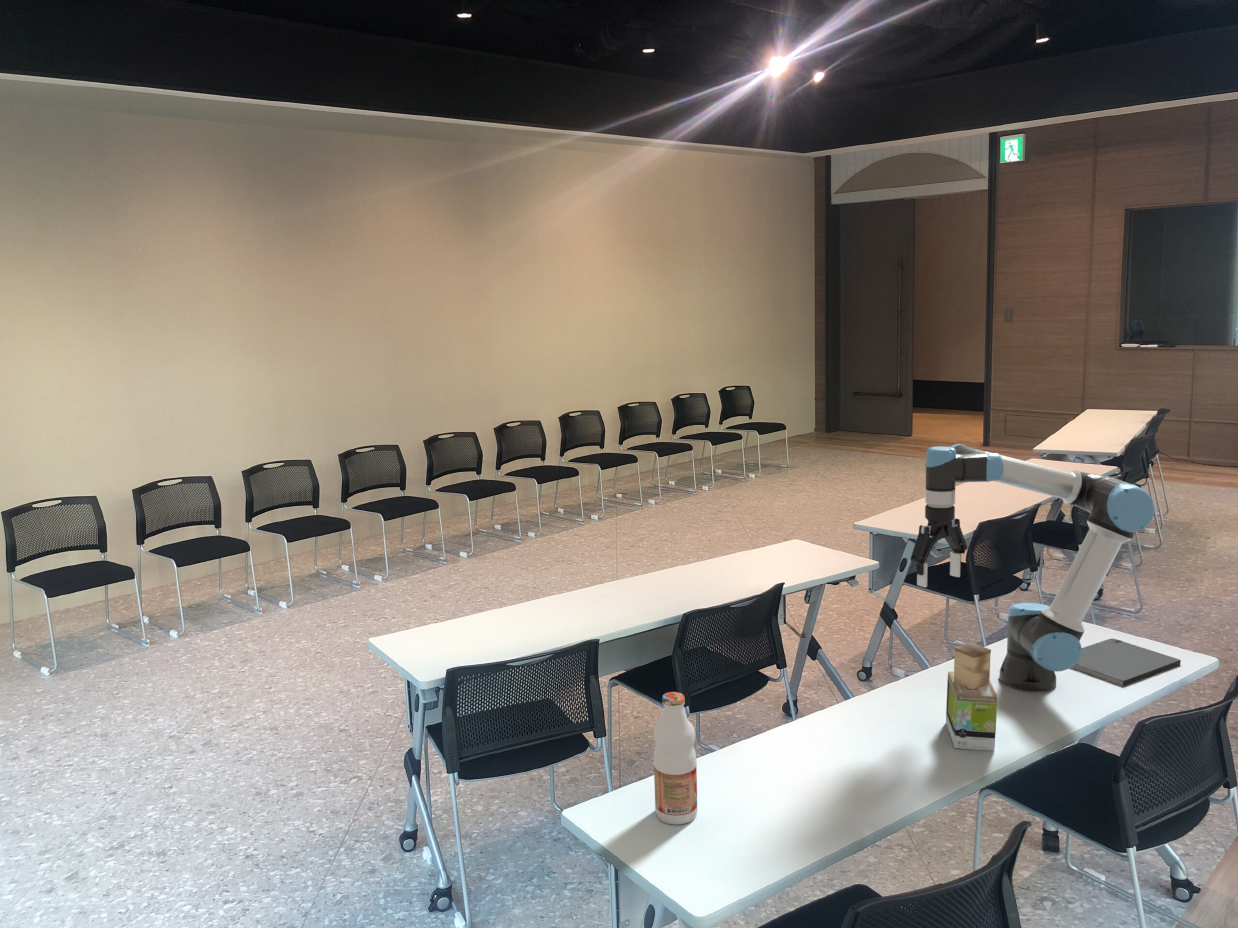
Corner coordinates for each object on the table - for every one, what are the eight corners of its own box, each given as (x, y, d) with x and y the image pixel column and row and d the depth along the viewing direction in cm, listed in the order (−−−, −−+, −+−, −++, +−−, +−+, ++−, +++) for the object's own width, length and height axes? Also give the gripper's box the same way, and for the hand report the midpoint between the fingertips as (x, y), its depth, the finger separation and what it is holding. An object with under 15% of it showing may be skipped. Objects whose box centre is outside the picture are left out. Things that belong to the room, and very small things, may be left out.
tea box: (996, 751, 227) (998, 695, 225) (953, 749, 229) (955, 693, 227) (984, 724, 242) (986, 671, 239) (944, 722, 244) (946, 669, 241)
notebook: (1122, 688, 261) (1180, 666, 275) (1123, 680, 261) (1180, 659, 274) (1054, 663, 280) (1111, 644, 293) (1055, 656, 280) (1112, 637, 293)
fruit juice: (646, 811, 206) (643, 694, 201) (679, 798, 211) (676, 683, 206) (672, 830, 198) (669, 709, 193) (706, 815, 203) (704, 697, 199)
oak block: (969, 675, 237) (971, 642, 235) (989, 683, 232) (991, 649, 230) (953, 681, 234) (954, 647, 232) (973, 689, 229) (974, 654, 227)
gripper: (958, 495, 255) (956, 568, 259) (897, 509, 242) (896, 586, 246) (981, 499, 249) (979, 574, 252) (920, 514, 236) (919, 593, 239)
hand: (938, 581), depth 249 cm, fingers open, 13 cm apart
